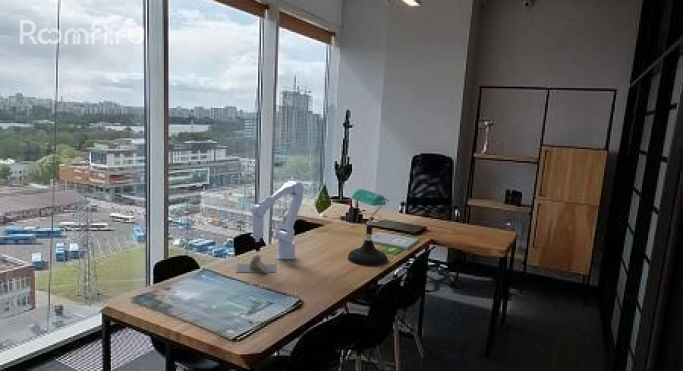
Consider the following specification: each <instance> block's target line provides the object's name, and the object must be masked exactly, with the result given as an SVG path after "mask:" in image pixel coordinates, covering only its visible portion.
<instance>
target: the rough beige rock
mask: <svg viewBox="0 0 683 371" xmlns="http://www.w3.org/2000/svg"><path fill="white" fill-rule="evenodd" d="M249 264H250V268H251V267H252V268H253V269H260V270H262V271H263V272H265V274H268V273H267V272H268V268H267V267H266V266H264V264H265V263H263V262H262V261H261V256H260V255H259V254H257V255H256V256H253V257H252V259H251V261H250V262H249Z"/></svg>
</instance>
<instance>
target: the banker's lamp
mask: <svg viewBox="0 0 683 371" xmlns="http://www.w3.org/2000/svg"><path fill="white" fill-rule="evenodd" d="M351 199H352V200H355V201H357V202H360V203H363V204H365V205H368V206H372V207H373V206H379V207H378V208H377V209H376V210H375V212H374V213H372V215H371V216H370V217H369V218H368V221H366V232H365V236H366V237H365V239H366V240H365V242H364V241H363V244H362V245H361V246H360V247H359V248H358V247H357V248H355V249H353V250H351V251H350V252H349V253H348V256H347V259H348V261H349V262H351V263H353V264H356V265H358V266H359V265H360V266H367V267H375V266H376V267H377V266H381V265H382V266H383V265H385V264H386V263H387V262H388V257H387V255H386V253H385V252H384V251H382V250H380V249H377V248H376V246H375V244H373V242H372V238H371V236H372V235H373V224H374V223H373V221H372V219H373V217H374V216H375V215H376V214H377V212H378V211H379V210H380V209H381V208H382V207H383V206H386V205H387V202H390V199H388V198H385V196H383V195H382V194H379V193H375V192H372V191H369V190H367V189H363V188H358V189H356V190H354V193H353V195H352V196H351Z"/></svg>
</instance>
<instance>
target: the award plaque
mask: <svg viewBox="0 0 683 371" xmlns="http://www.w3.org/2000/svg"><path fill="white" fill-rule="evenodd" d="M371 238H372V242H373V244H374V245H379V246H384V245H385V247H389V246H390V247H391V248H394V247H397V248H396V249H400V248H402V249H401V250H406V251H408V250H409V249H410V248H412V246H414V245H415V244H416V243H418V242H419V238H416V237H410V236H404V235H403V236H402V235H398V234H391V233H387V232H381V231H380V232H379V231H377V232H376V233H372V236H371ZM365 240H366V238H363V243H364V242H365ZM390 247H389V248H390Z"/></svg>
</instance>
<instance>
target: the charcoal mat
mask: <svg viewBox="0 0 683 371" xmlns="http://www.w3.org/2000/svg"><path fill="white" fill-rule="evenodd" d="M263 264H264V266H266V267H267V268H268V272H267V273H265V272H263V271H262V270H260V269H253V268H252V267H251V268H250V263H248V264H246V263H245V264H244V263H241V264H239V263H238V264H237V267H236V271H235V273H236V274H237V273H242V274H243V273H246V274H247V273H249V274H250V273H251V274H252V273H253V274H255V273H258V274H259V273H260V274H261V273H265V274H268V273H270V274H271V273H277V264H275V263H273V264H270V263H267V264H266V263H263Z"/></svg>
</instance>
